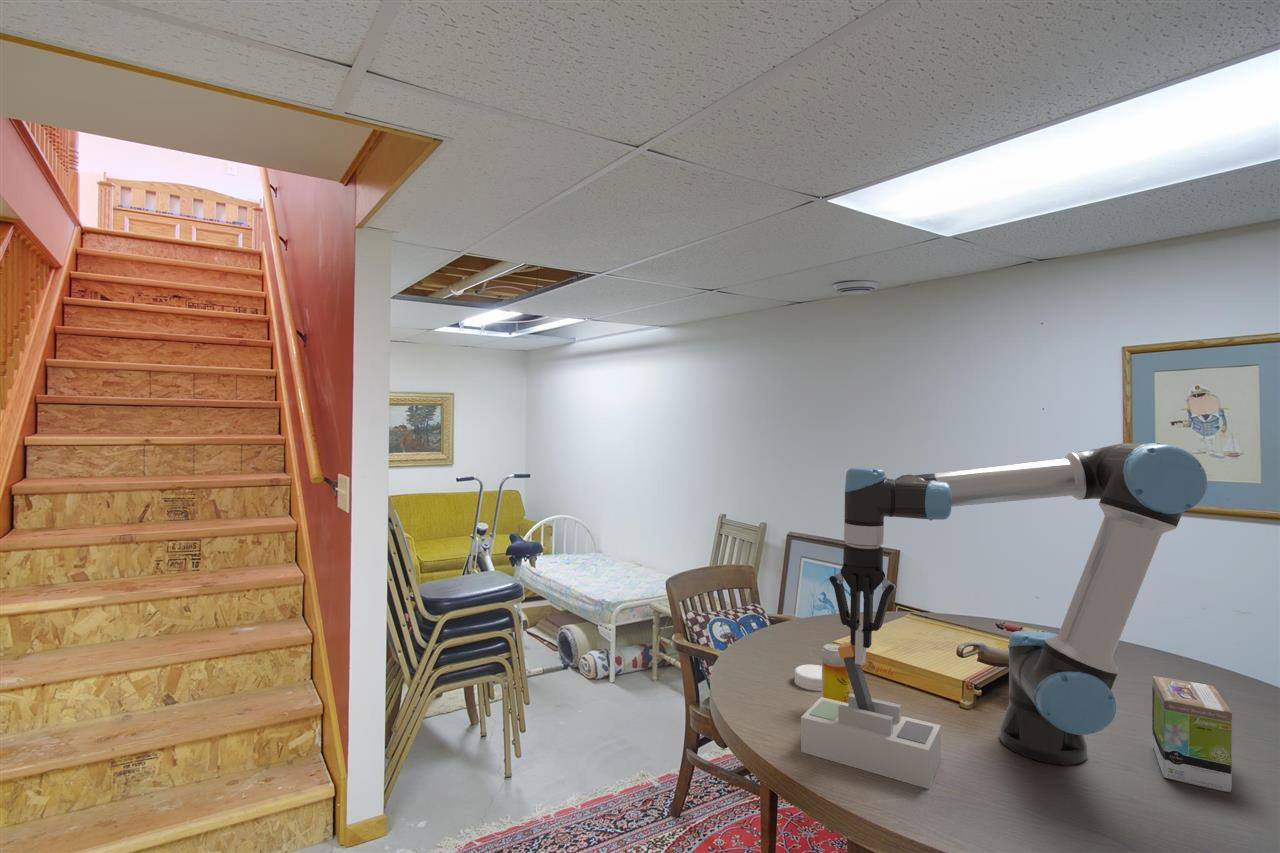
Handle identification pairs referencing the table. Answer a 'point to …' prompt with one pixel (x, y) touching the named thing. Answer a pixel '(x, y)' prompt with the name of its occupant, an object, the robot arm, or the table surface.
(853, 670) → the lever
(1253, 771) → the table surface
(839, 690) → the beer can
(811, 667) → the white short cylinder
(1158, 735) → the tea box
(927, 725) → the breaker block
